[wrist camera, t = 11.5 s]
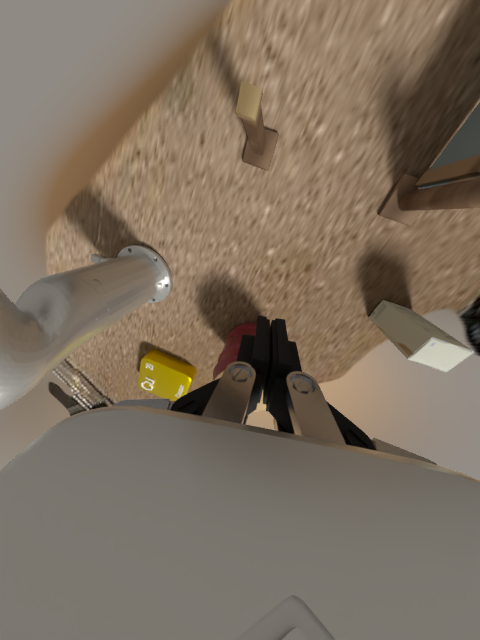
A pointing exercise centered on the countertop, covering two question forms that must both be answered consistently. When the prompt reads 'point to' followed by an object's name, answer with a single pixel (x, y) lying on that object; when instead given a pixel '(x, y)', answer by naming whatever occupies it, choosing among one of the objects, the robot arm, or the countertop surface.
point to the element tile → (165, 375)
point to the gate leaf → (457, 156)
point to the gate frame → (403, 198)
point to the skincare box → (418, 337)
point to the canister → (235, 353)
